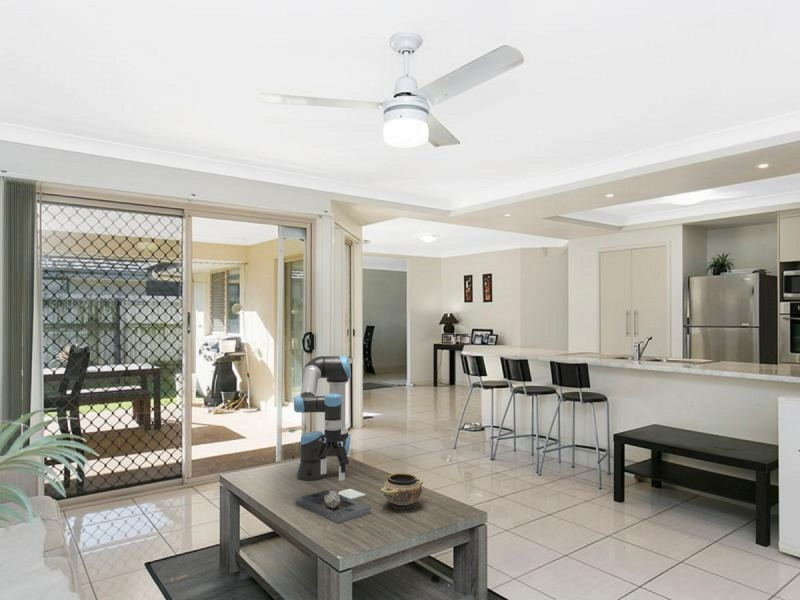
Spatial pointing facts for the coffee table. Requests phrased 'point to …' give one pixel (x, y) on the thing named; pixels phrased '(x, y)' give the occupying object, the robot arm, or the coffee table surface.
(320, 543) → the coffee table surface
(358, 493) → the pale green flat panel
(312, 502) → the dark grey rectangular frame
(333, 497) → the game die
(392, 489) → the ceramic bowl
